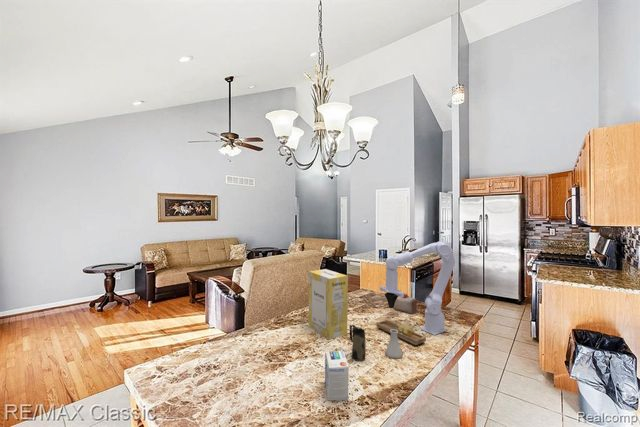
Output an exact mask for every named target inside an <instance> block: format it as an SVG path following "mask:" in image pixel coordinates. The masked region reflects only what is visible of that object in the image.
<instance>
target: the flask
mask: <svg viewBox="0 0 640 427" xmlns="http://www.w3.org/2000/svg"><path fill="white" fill-rule="evenodd" d="M390 332H391V333H390V337H389V338H390V339H389V340H388V344H387V347H386V349H385V351H384V354H385V356H386V357H387V358H391V359H393V360H396V359H402V358H403V354H404V353H403V351H402V349H401V345H400V341H399V338H398V337H397V333H398V331H397V330H395V329H391V330H390Z"/></svg>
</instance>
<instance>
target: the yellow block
mask: <svg viewBox="0 0 640 427" xmlns="http://www.w3.org/2000/svg"><path fill="white" fill-rule="evenodd" d="M413 332H414V326H413V327H412V326H411V325H409V324H406V323H402V324H400V325H399V333H402V334H404V335H406V336H408V337H409V336H412V335H413Z"/></svg>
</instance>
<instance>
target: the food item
mask: <svg viewBox="0 0 640 427" xmlns="http://www.w3.org/2000/svg"><path fill="white" fill-rule="evenodd" d="M417 301H418V300H417V298H414V297H411V296H409V295H408V293H404V297H400V296H398V298H397V299H396V302H395V305H394V308H393V310H396V311H400V312H403V313H407V314H410V315H414V314H416V313H417V312H418V310H417V309H418V308H417V307H418V302H417Z"/></svg>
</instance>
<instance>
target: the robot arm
mask: <svg viewBox="0 0 640 427" xmlns="http://www.w3.org/2000/svg"><path fill="white" fill-rule="evenodd" d="M427 254H433V255H438V256H439V257H440V258H441V261H442V264H441V268H440V270H439V272H438V274H437V277H436V281H435V282H434V285H433V288H432V291H430V293H429V295H428V296H427V297H426V298H425V299H424V305H425V307H426V308H425V310H424V326H423V327H421V328H420V330H421V331H424V332H426V333H429V334H431V335H434V336H436V335H438V334H442V333H443V332H446V331H447V329H446V328H445V326H446V325H445V320H446V317H445V314H444V312H442V304H443V295H444V293H445V290H446V287H447V285H448V283H449V280H450V278H451V275H452V272H453V269H454V267H455V265H456V259H455V255H454V249H453V248H452V247H451V246H450V245H449V244H448V243H446V242H444V241H441V240H439V241H437V242H431V243H430V244H427V245H425V246H422V247H419V248H418V249H416V250H413V251H408V250H402V251H401V253H398V254H393V256H389V257H387V258H386V260H385V265H386V268H385V269H386V270H385V271H386V272H385V286H383V285H382V286H379V291H381V292H385V293H384V297H385V299H386V301H387V306H388V308H389V309H394V305H395V302H396V299H397V298H398V296H400V297H404V294H405V292H402V291H401V290H400V289H398V283H399V282H398V281H399V280H398V268H399V267H401V266H406V265H407V264H410V263H412V262H413V260H414V259H416V258H418V257H421V256H424V255H425V256H426V255H427Z"/></svg>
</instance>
